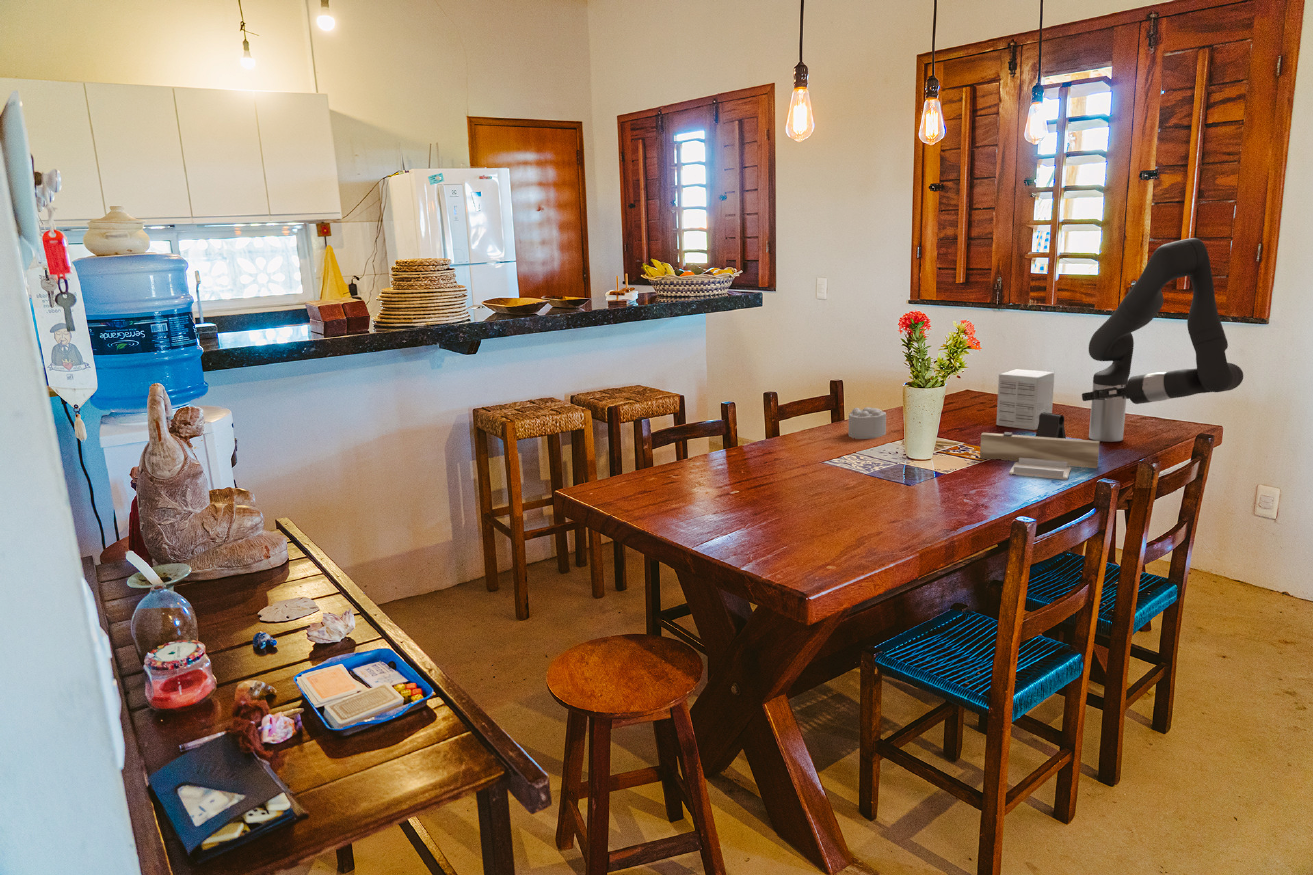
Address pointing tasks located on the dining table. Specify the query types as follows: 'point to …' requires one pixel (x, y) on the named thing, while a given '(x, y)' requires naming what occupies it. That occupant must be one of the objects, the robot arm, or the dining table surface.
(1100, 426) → the robot arm
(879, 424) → the lumpy-topped squat cylinder
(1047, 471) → the keeper plate
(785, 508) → the dining table surface
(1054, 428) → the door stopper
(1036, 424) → the supplement box
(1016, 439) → the door board
